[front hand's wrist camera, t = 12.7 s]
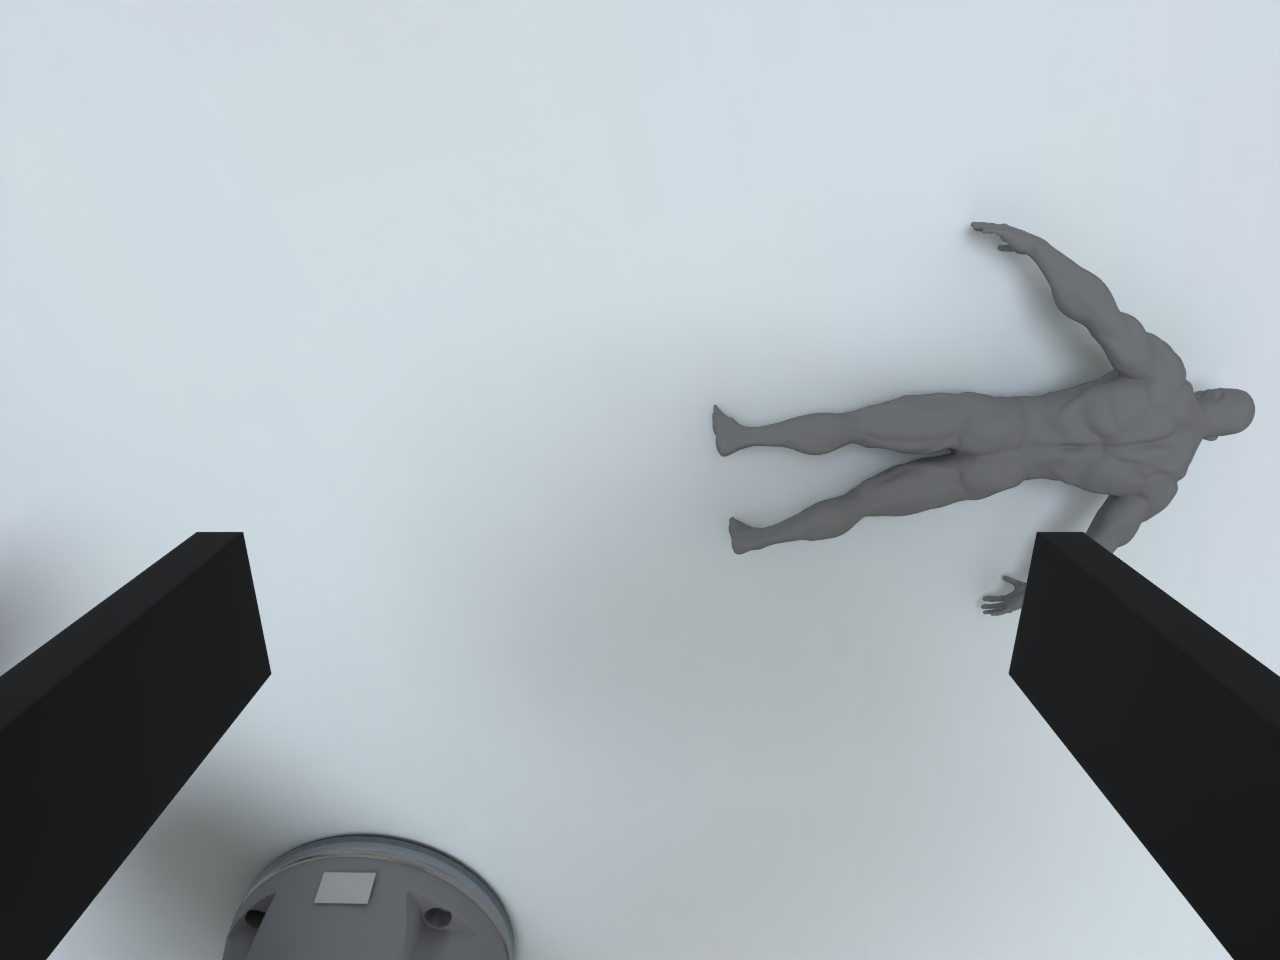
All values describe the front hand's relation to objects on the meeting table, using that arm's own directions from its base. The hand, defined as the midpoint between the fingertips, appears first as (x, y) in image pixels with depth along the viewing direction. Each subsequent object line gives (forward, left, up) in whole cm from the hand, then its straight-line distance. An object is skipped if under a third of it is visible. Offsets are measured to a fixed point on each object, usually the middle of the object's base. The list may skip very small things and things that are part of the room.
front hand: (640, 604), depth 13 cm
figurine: (-3, -13, -19) cm, 23 cm away
